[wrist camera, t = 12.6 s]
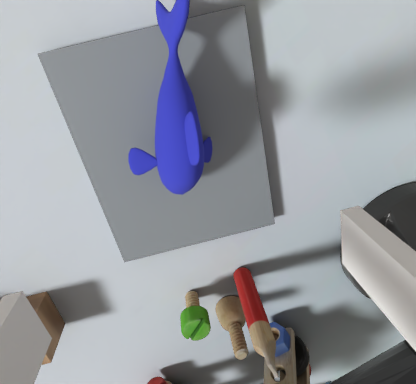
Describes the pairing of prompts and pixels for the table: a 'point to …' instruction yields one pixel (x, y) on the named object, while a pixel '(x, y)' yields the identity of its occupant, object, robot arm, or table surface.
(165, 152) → the fish toy
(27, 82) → the table surface
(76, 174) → the table surface
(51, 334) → the walnut block
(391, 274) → the robot arm
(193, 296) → the toy construction set
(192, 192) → the slate plate
